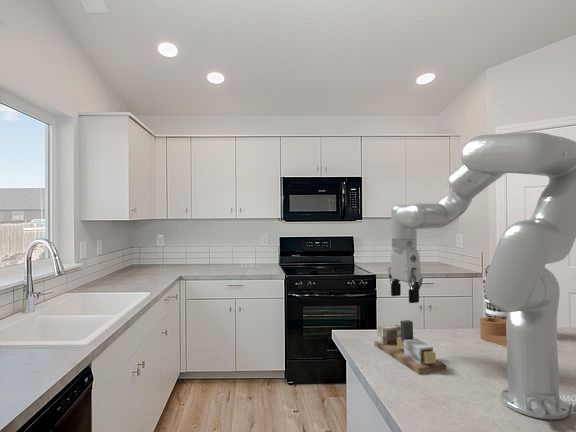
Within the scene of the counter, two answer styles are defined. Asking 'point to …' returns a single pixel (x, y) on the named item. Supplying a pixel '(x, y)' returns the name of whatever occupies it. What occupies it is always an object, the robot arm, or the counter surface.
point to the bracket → (493, 330)
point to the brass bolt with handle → (407, 333)
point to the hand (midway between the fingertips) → (404, 299)
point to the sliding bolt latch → (406, 350)
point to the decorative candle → (492, 310)
